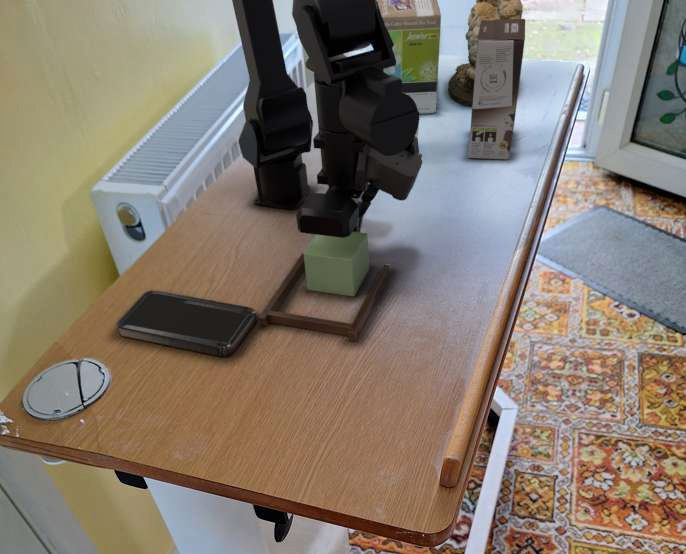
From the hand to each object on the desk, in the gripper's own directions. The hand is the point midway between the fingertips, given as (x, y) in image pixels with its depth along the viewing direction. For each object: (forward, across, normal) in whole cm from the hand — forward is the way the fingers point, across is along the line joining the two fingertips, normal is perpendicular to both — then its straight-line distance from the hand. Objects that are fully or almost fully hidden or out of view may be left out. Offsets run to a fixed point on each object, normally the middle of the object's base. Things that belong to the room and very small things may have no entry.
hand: (352, 249), depth 85 cm
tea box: (+2, +51, +7) cm, 51 cm away
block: (+1, -5, 0) cm, 5 cm away
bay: (+1, -9, 0) cm, 9 cm away
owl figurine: (+2, +58, -5) cm, 58 cm away
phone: (+1, -18, +14) cm, 23 cm away
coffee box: (+2, +34, -11) cm, 36 cm away
